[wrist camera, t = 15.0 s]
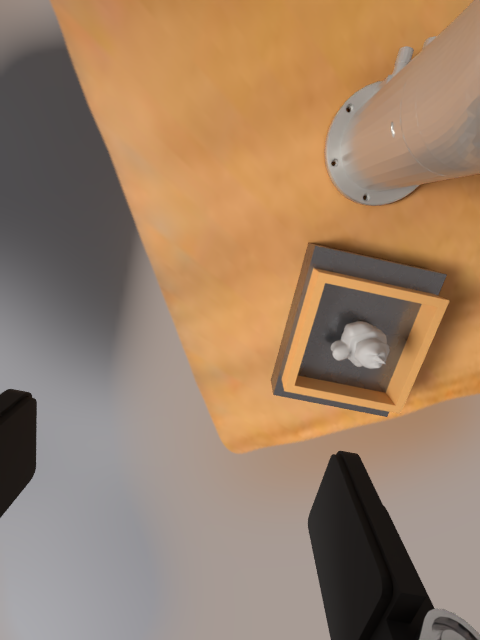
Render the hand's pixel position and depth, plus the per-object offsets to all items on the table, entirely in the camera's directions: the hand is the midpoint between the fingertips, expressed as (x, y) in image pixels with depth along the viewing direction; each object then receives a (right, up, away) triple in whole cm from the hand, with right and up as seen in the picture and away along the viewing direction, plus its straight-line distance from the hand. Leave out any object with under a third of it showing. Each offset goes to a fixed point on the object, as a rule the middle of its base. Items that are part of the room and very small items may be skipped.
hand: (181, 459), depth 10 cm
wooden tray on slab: (+16, +3, +34) cm, 38 cm away
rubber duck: (+16, +2, +30) cm, 34 cm away
